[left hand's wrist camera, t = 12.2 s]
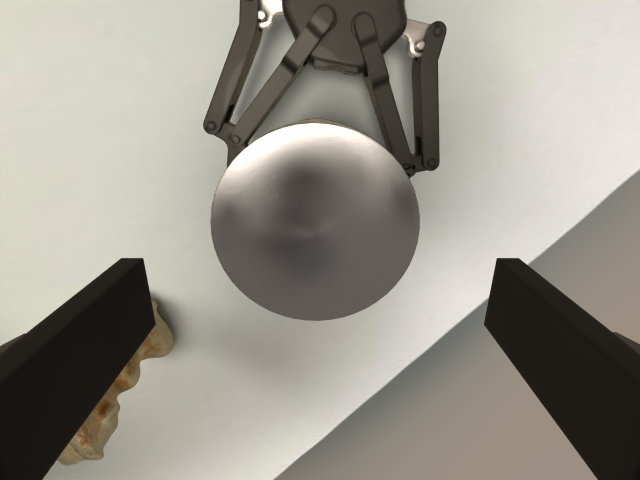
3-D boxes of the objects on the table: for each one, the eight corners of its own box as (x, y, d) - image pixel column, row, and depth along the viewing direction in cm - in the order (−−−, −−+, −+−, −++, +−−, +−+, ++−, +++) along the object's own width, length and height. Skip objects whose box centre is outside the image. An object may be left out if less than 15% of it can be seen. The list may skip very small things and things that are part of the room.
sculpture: (136, 350, 41) (43, 477, 27) (113, 296, 39) (-2, 406, 25) (185, 343, 41) (116, 468, 27) (165, 288, 38) (78, 395, 24)
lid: (259, 318, 24) (253, 340, 22) (191, 154, 20) (175, 160, 18) (425, 275, 23) (436, 293, 21) (386, 93, 19) (395, 92, 17)
